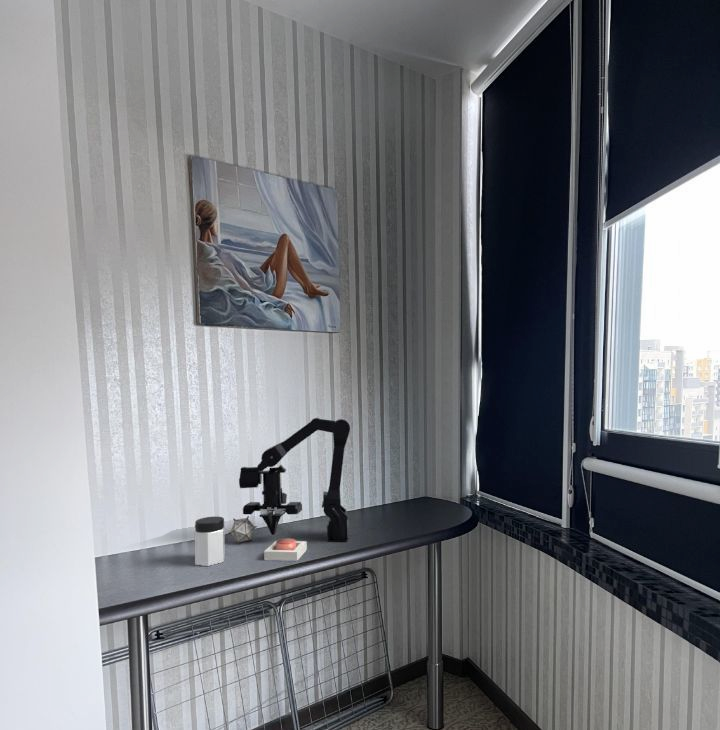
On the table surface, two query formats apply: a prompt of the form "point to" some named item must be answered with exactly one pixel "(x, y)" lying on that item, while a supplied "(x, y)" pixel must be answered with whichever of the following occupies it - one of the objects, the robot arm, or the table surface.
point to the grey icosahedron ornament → (242, 530)
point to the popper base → (285, 552)
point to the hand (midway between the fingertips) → (273, 534)
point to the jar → (209, 541)
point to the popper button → (286, 544)
